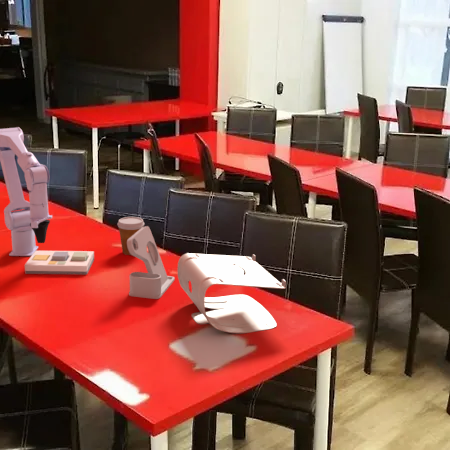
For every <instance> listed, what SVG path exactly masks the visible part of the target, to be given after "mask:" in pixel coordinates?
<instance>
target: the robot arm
mask: <svg viewBox="0 0 450 450" xmlns="http://www.w3.org/2000/svg"><path fill="white" fill-rule="evenodd" d="M24 141H25V137H24V132H23V130H22V129H21V128H20V127H19V126H16V127H9V128H8V127H7V128H0V166H1V170H2V174H3V177H4V182H5V187H6V190H7V196H8V198H9V203H8V205H6V207H4V209H3V213H4V224H5V227H6V228H7V229H8V230H9V231H10V233H11V235H10V236H11V246H12V247H11V248H12V249H11V252H9V254H8V255H9V256H11V257H19V256H20V257H31V256H32V255H33V253H34V252H35V251H38V249H39V246H38V245H36V244H44V243H45V242H46V238H47V237H46V236H47V232H48V229H49V225H50V223H51V220H52V219H53V214H51V215H50V213H49V201H48V199H49V198H48V183H49V182H50V178H51V177H50V171H49V169H48V167H47V166H46V164H42V163H40V162H39V161H38V159H37V158H36V156H35V155H34V153H32V152H31V151H28V149H27V148H26V146H25V144H24ZM15 156H16V157H17V159H15V158H16V157H15ZM16 160H17V163H16ZM17 164H18V165H19V167H20V169H21V170H22V171H23V174H24V179H25V183H26V188H27V190H28V197H29V198H28V199H29V201H28V200H25V197H24V191H23V187H22V183H21V179H20V176H19V172H18V171H19V170H18V167H17ZM36 242H37V243H36Z"/></svg>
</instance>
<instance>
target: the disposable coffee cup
mask: <svg viewBox="0 0 450 450" xmlns="http://www.w3.org/2000/svg"><path fill="white" fill-rule="evenodd" d="M117 227H118V231H119V236H120V237H119V238H120V243H121V248H122V249H121V250H122V254H124V255H127V256H132V255H131V254H130V252H129V250H128V247H127V240H128V239H129V238H130V237H131V236H133V235H134V234H135V233H136V232H137V231H138V230H140V229H141V228H142V227H145V222H144V219H143V218H141V217H137V216H127V217H126V216H125V217H122V218H120V219H118V222H117Z"/></svg>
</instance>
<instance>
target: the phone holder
mask: <svg viewBox="0 0 450 450" xmlns="http://www.w3.org/2000/svg"><path fill="white" fill-rule="evenodd" d="M127 247H128V250H129V252H130V254H131V255H130V256H133V257H135V258H137V259H138V260H140V261H142V262H143V263H144V266H145V268H146V271H147V272H144V271H143V272H142V271H134V272H131V273H129V292H128V295H129V296H130V297H137V298H143V299H145V298H146V299H152V300H153V299H154V300H158V299H160V298H162V296H163V295H164V294H165V292H167V290H168V289H169V288H170V286H171V285H172V284H173V283H174V281H175V276H171V275H167V271H166V268H165V267H164V264H163V261H162V257H161V255H160V252H159V250H158V247H157V244H156V242H155V238H154V236H153V234H152V231H151V229H150V226H149V225H146V226H143V227H142V228H141V229H140V230H138V231H137V232H136V233H135V234H134V235H133V236H131V237H130V238H129V239H128V240H127ZM147 249H148V250H147Z"/></svg>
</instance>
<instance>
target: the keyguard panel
mask: <svg viewBox="0 0 450 450" xmlns="http://www.w3.org/2000/svg"><path fill="white" fill-rule="evenodd" d="M55 252H68V259H67V261H52V256H53V254H54V253H55ZM74 252H88V258H87V260H86V261H72V255H73V254H74ZM35 255H49V258H48V260H47V261H43V260H32V259H33V258H34V257H35ZM94 261H95V251H91V250H90V251H89V250H88V251H87V250H84V251H83V250H36V251H35V252H34V253H33V255H32V256H29V259H28V260H27V261H26V262H25V264H24V274H25V275H27V274H28V275H34V274H35V275H88V274H89V272H90V269H91V268H92V265H93V263H94Z"/></svg>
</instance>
